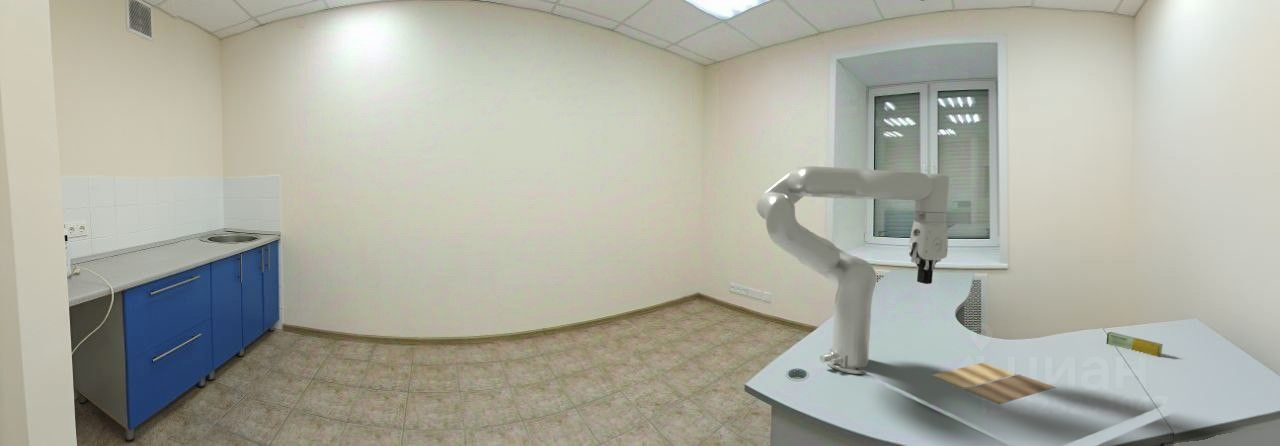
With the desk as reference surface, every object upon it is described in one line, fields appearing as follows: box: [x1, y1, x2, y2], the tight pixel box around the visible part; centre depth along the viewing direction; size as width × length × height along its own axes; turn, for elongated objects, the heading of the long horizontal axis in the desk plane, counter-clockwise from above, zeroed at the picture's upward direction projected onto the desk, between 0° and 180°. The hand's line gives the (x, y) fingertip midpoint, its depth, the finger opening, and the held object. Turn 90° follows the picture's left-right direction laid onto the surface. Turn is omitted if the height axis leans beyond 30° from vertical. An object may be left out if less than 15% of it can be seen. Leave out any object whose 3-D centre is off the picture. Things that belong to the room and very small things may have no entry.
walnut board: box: [963, 373, 1055, 405], centre depth 113 cm, size 23×8×2 cm, turn 113°
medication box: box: [1106, 331, 1163, 358], centre depth 143 cm, size 12×3×4 cm, turn 24°
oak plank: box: [931, 362, 1016, 389], centre depth 120 cm, size 22×8×1 cm, turn 113°
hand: (924, 282), depth 126 cm, fingers closed
